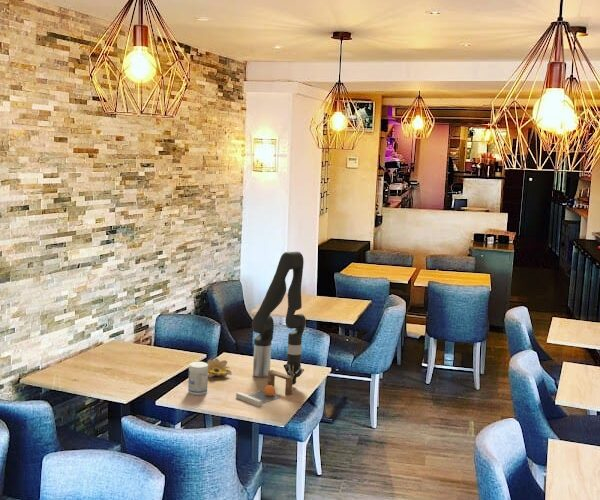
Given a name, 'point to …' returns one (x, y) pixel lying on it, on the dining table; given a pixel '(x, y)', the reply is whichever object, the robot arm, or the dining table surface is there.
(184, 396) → the dining table surface
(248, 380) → the dining table surface
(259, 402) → the stopper strip
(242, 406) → the dining table surface
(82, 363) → the dining table surface
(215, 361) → the decorative flower
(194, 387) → the supplement tub
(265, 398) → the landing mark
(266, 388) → the ball
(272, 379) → the bridge
